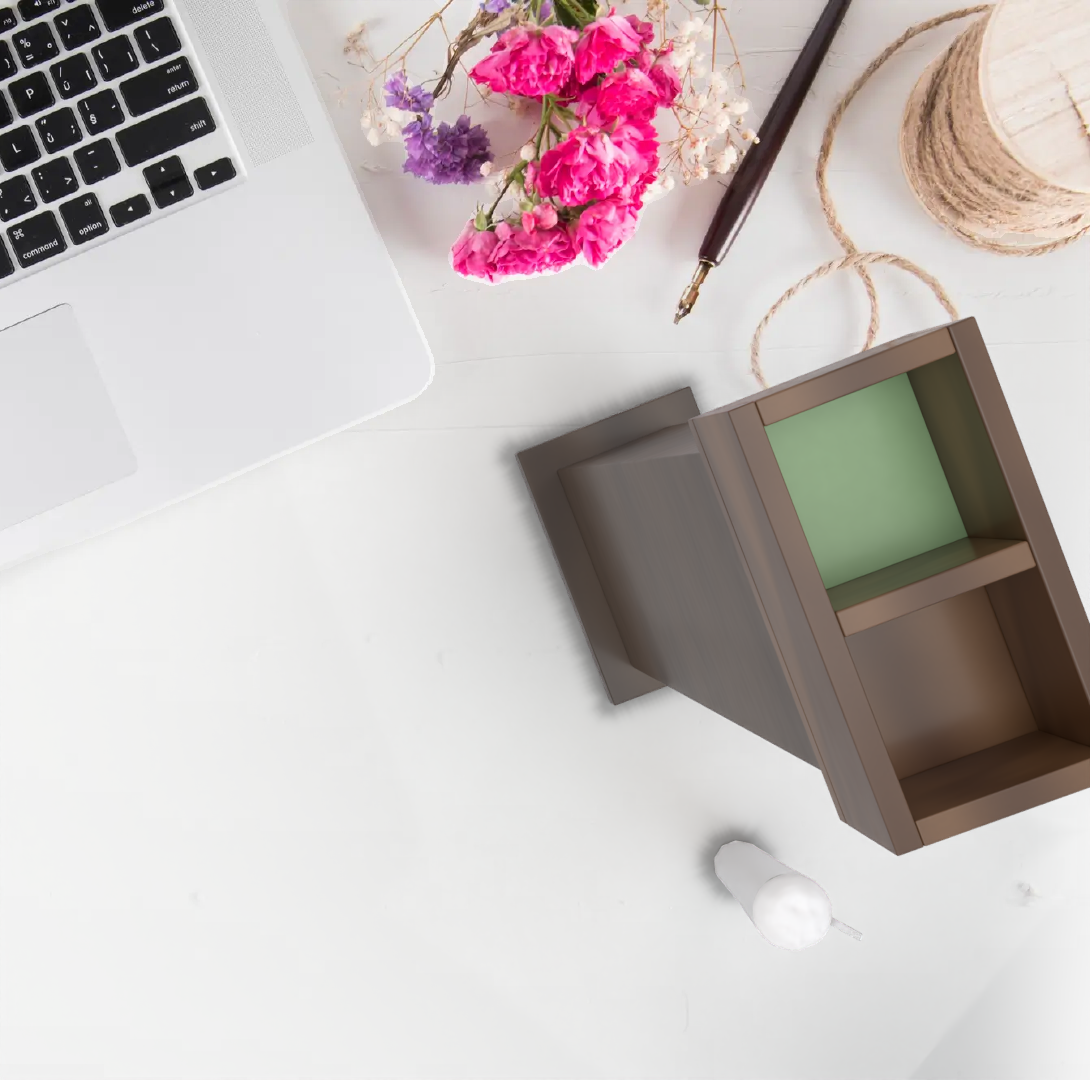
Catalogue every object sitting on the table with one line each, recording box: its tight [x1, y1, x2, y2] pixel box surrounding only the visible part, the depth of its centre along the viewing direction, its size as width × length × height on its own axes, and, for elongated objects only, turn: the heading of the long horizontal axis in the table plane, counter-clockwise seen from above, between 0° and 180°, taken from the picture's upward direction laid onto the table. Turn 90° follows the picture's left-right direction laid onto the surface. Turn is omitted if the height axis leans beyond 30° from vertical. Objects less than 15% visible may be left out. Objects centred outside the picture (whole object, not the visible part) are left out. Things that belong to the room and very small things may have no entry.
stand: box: [514, 385, 821, 771], centre depth 54 cm, size 12×18×28 cm, turn 21°
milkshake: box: [713, 839, 863, 952], centre depth 63 cm, size 4×5×10 cm
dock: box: [688, 315, 1090, 857], centre depth 38 cm, size 9×17×4 cm, turn 21°
